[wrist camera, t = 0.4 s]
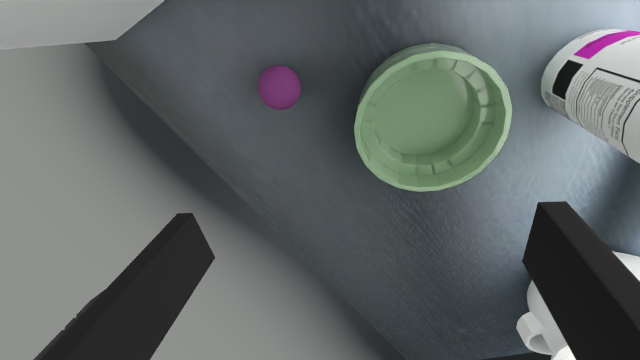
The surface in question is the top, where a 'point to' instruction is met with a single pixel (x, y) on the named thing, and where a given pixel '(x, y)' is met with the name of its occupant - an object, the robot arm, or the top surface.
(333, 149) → the top surface
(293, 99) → the ball
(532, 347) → the pot
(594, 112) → the supplement can
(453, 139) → the bowl
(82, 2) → the milk
